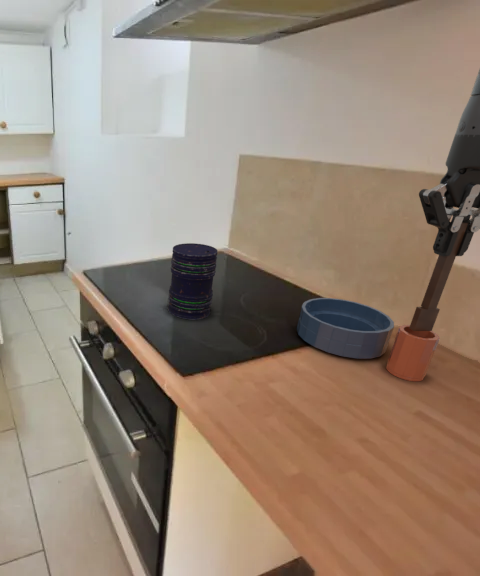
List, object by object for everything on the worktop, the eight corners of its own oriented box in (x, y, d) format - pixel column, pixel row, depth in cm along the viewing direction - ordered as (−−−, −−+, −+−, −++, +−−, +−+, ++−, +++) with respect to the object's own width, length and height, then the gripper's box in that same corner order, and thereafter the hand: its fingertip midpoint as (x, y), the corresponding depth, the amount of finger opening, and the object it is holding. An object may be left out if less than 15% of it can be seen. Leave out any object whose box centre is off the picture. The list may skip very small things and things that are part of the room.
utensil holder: (408, 364, 68) (422, 324, 65) (431, 381, 64) (448, 340, 61) (379, 364, 68) (392, 324, 65) (400, 381, 64) (415, 340, 61)
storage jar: (160, 312, 88) (164, 250, 82) (177, 298, 96) (182, 241, 90) (202, 323, 83) (209, 258, 77) (216, 307, 90) (224, 247, 85)
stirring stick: (425, 327, 63) (465, 221, 57) (432, 331, 62) (474, 223, 55) (408, 327, 63) (445, 221, 57) (414, 331, 62) (453, 223, 55)
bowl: (352, 322, 83) (359, 297, 81) (404, 361, 69) (415, 332, 67) (283, 322, 83) (288, 297, 81) (321, 361, 69) (328, 332, 67)
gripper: (467, 132, 48) (422, 262, 54) (575, 131, 48) (517, 262, 54) (420, 132, 55) (385, 248, 61) (514, 132, 55) (470, 247, 61)
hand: (447, 254), depth 58 cm, fingers closed on stirring stick, 1 cm apart
